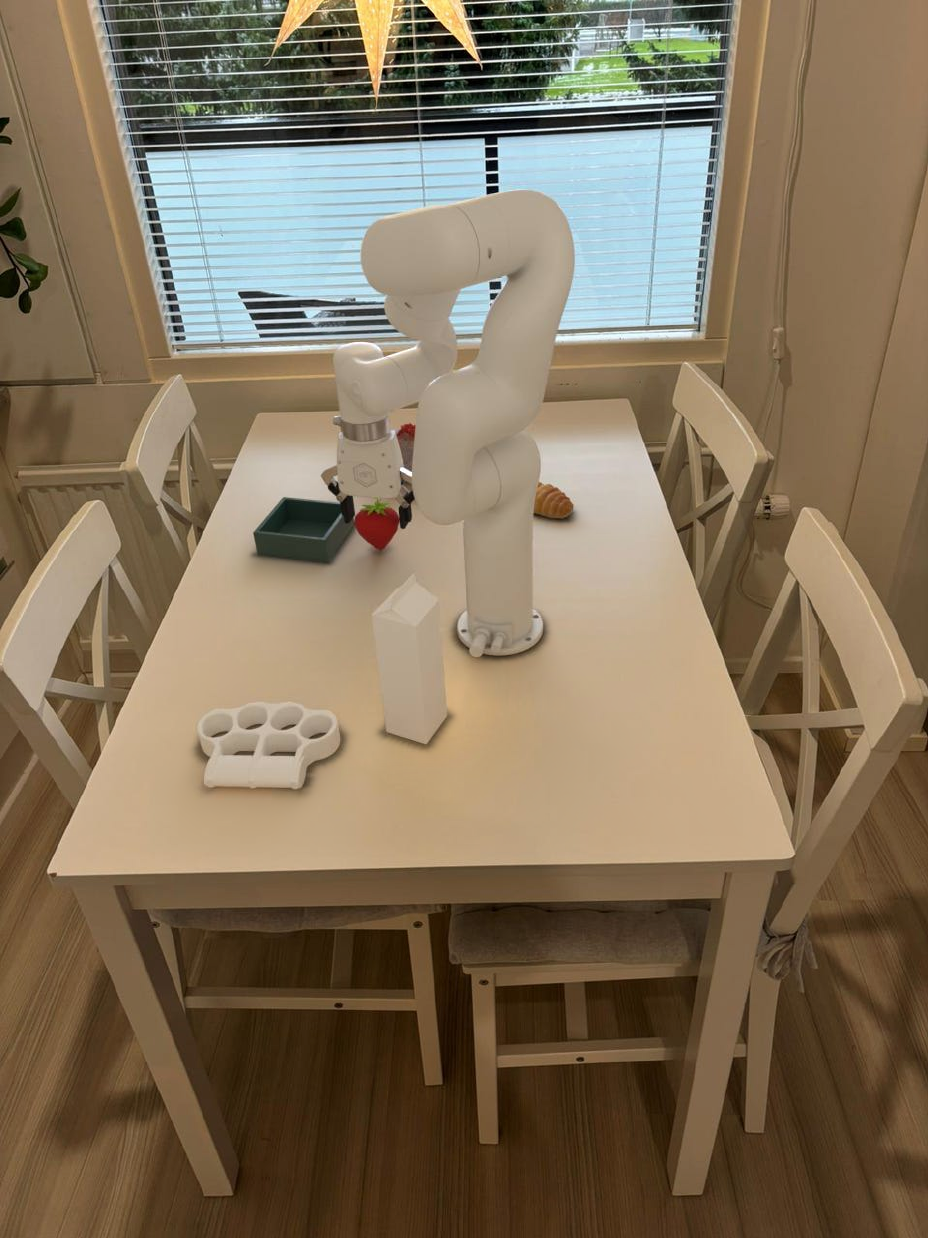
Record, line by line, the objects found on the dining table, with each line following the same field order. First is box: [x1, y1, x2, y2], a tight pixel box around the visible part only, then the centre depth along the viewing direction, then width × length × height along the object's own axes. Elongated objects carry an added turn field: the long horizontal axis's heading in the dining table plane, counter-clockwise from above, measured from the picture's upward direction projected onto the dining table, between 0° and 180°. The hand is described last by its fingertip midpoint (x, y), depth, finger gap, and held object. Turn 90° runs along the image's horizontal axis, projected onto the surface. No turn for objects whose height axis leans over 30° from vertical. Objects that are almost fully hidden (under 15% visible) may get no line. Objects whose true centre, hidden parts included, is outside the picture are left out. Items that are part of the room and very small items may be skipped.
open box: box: [252, 496, 355, 564], centre depth 158 cm, size 12×13×4 cm
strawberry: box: [354, 498, 400, 551], centre depth 153 cm, size 6×8×10 cm
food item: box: [391, 422, 416, 483], centre depth 175 cm, size 14×8×10 cm, turn 83°
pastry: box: [533, 481, 575, 519], centre depth 163 cm, size 9×7×4 cm
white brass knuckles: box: [196, 700, 341, 790], centre depth 117 cm, size 3×18×15 cm
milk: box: [371, 572, 448, 745], centre depth 114 cm, size 6×6×22 cm
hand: (377, 522), depth 153 cm, fingers open, 9 cm apart
